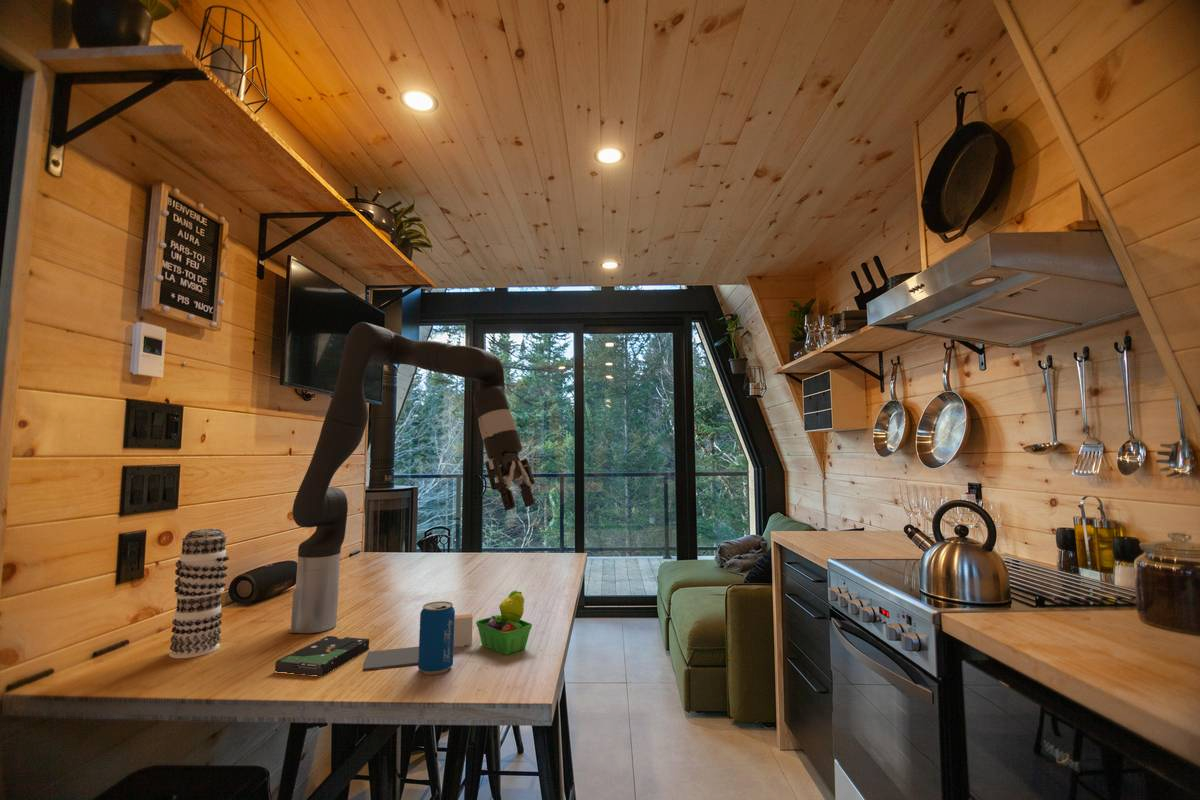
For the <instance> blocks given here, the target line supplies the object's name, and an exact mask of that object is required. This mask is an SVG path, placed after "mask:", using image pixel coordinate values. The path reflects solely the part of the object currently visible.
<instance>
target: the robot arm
mask: <svg viewBox="0 0 1200 800" xmlns="http://www.w3.org/2000/svg"><path fill="white" fill-rule="evenodd" d="M341 355H342V356H341V361H340V366H339V371H338V374H337V375H338V376H337V378H336V383H335V387H334V390H333V394H332V397H331V400H330V403H329V406H328V409H327V412H326V414H325V417H324V420H323V423H322V426H321V430H320V433H319V436H318V439H317V443H316V447H315V449H314V452H313V454H312V457H311V460H310V463H309V465H308V468H307V471H306V473H305V475H304V477H303V479H302V481H301V483H300V486H299V487H298V491H297V493H296V495H295V498H294V500H293V503H292V518H293V521H294V522H295V525H297V526H298V527H301V528H315V527H316V529H315V531H314V533H313V534H312V535H311V536H310V537H308V538H307V539H305V540H303V541H302V542H300V544H299V545H298V547H297V548H298V549H297V561H296V562H297V563H296V564H297V565H296V581H295V588H294V590H293V591H292V601H291V602H292V604H291V617H290V618H291V619H290V633H291V634H296V633H297V634H313V633H314V634H315V633H321V632H325V631H329V630H331V629H333V628H335V627H336V626H337V620H338V602H339V587H340V585H339V583H340V572H341V571H340V569H341V555H342V554H341V549H342V545H343V543H344V542H345V541H344V540H345V537H346V529H347V519H348V512H349V511H348V509H349V508H348V507H349V505H348V504H349V503H348V497H347V495H346V493H345V492H344V490H343V489H341V488H339V487H333V486H332V487H329V486H330V484H331V482H332V480H333V477H334V475H335V474H336V473H337V471H338V470H339V468H340V467H342V465H343V464H344V463H345V462H346V461H347V460H348V459H349V458H350V456H351V455H352V454H354V452H355V451H356V449H358V447H359V445H360V444H361V442H362V440H363V436H364V434H365V431H366V426H367V424H368V420H369V409H368V404H367V400H366V395H365V391H364V381H365V380H364V379H365V376H366V372H367V369H368V366H369V363H370V364H374V365H406V366H413V367H416V368H419V369H422V370H425V371H430V372H433V373H439V374H444V375H450V376H452V375H453V376H456V377H461V378H464V379H467V380H472V381H476V382H478V387H479V390H477V391H476V392H474V394H473V397H472V398H473V401H472V402H473V406H474V409H475V411H476V413H475V414H476V415H477V419H478V424H479V425H478V426H479V431H480V434H481V439H482V442H483V446H484V450H485V453H486V456H487V459H488V460H487V461H486V462H485V466H486V467H485V468H486V470H487V471H486V472H487V476H488V479H489V483H490V489H491V490H492V491H496V492H497V493H498V494H500V498H501V501H502V505H503V509H504V510H505V511H510V510H512V509H515V508H516V502H515V498H514V494H513V492H512V489H510V488H511V482H512V483H513V484H514V485H517V487H518V488H519V490H520V494H521V498H522V501H523V504H524V507H526V508H529V507H531V506H534V505H535V504H536V502H535V498H534V494H533V491H532V487H533V485H534V484H535V483H536V482H535V479H534V476H533V472H532V469H531V466H530V464H529V460H528V459H527V458H523V459H520V456H519V453H521V452H522V450H523V446H522V442H521V439H520V436H519V433H518V432H519V431H518V430H517V426H516V422H515V419H514V417H513V414H512V412H511V410H510V406H509V403H508V399H507V396H506V394H505V389H506V388H505V387H506V385H505V371H504V367H503V363H502V361H501V359H500V358H499V357H498V356H497V354H494V353H493V352H490V351H487V350H485V349H482V348H479V347H475V346H469V345H459V344H458V345H455V344H451V343H447V342H446V343H445V342H442V341H436V340H435V341H434V340H416V339H415V340H414V339H411V338H407V337H406V336H402V335H400V334H398V333H396V332H394V331H391V330H390V329H388V328H385V327H382V326H379V325H376V324H373V323H368V322H365V321H361V322H358V323H356V324H355V325H353V326H352V327H351V329H350V330H349V332H348V334H347V336H346V337H345V343H344V347H343V352H342V354H341Z"/></svg>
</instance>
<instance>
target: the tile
mask: <svg viewBox="0 0 1200 800" xmlns="http://www.w3.org/2000/svg"><path fill="white" fill-rule="evenodd" d="M473 618H474V617H473V613H468V614H466V613H465V614H457V615H456V614H455V620H454V648H456V647H457V646H458V647H465V646H464V645H468V646H473V621H474V619H473ZM458 647H457V648H458Z"/></svg>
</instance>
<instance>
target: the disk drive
mask: <svg viewBox="0 0 1200 800" xmlns="http://www.w3.org/2000/svg"><path fill="white" fill-rule="evenodd" d="M369 647H370V638H359V637H349V636H348V637H347V636H345V637H344V638H338V636H336V635H333V636H332V635H327V636H324V637H322V638H320V639H319V640H317V641H314V642H313V643H310V644H308V645H306V646H304V647H302V648H300V649H298V650H295V651H293V652H292V653H290V654H288V655H285V656H283V657H282V658H280V659H278V660H275V667H274V672H275V671H277V672H287V673H294V674H305V675H317V676H322V677H324V676H325V675H324V674H326V673H327V674H329V673H331V672H333V671H334V670H336V669H337V667H338V666H339V667H341V666H343V665H344V663H345V662H346V663H348V662H349V660H350V659H351V660H353V659H355V658H356V657H358V656H359V654H360V655H362V654H363V653H365V652H367V651H369V649H370V648H369ZM366 650H367V651H366ZM361 653H362V654H361ZM354 657H355V658H354ZM352 658H353V659H352ZM351 660H350V661H351ZM347 661H348V662H347ZM346 663H345V664H346ZM342 664H343V665H342ZM340 665H341V666H340ZM339 667H338V668H339ZM335 668H336V669H335ZM333 669H334V670H333ZM332 670H333V671H332ZM330 671H331V672H330ZM328 672H329V673H328ZM327 674H326V675H327ZM323 675H324V676H323Z"/></svg>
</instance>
